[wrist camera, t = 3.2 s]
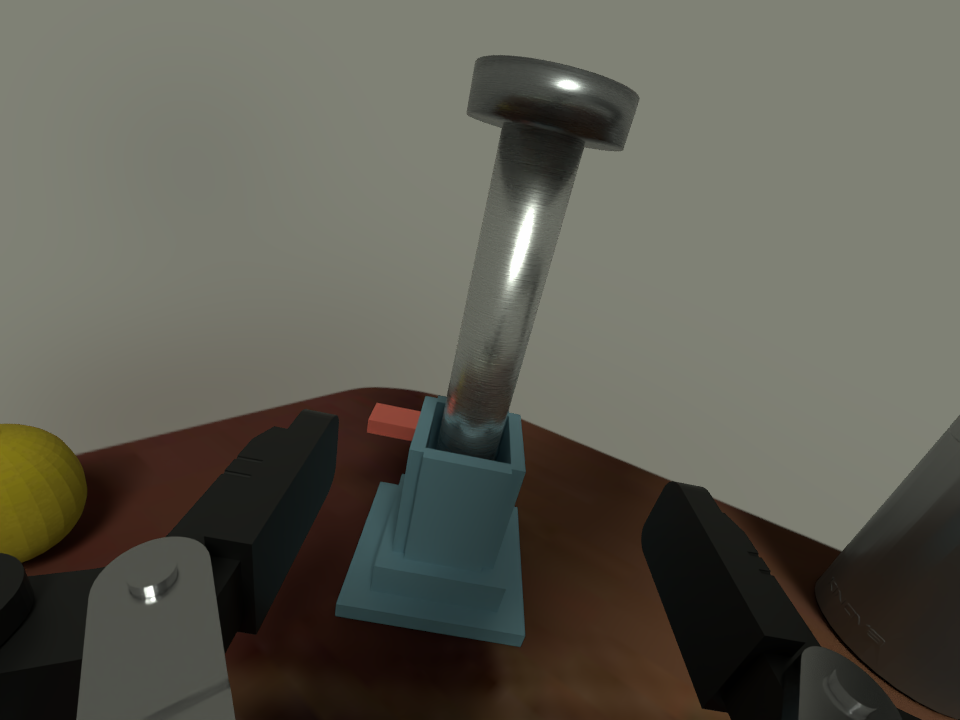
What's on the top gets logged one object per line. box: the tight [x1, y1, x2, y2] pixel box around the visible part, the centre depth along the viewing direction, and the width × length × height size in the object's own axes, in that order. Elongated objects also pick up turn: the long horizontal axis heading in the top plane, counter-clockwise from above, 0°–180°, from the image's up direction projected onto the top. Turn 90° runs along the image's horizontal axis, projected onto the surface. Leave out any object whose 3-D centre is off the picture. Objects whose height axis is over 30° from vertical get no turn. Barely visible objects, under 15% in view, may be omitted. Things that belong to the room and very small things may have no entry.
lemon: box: [0, 424, 87, 563], centre depth 19 cm, size 6×6×8 cm
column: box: [436, 55, 639, 461], centre depth 20 cm, size 6×6×24 cm
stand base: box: [335, 395, 526, 647], centre depth 24 cm, size 10×9×10 cm
